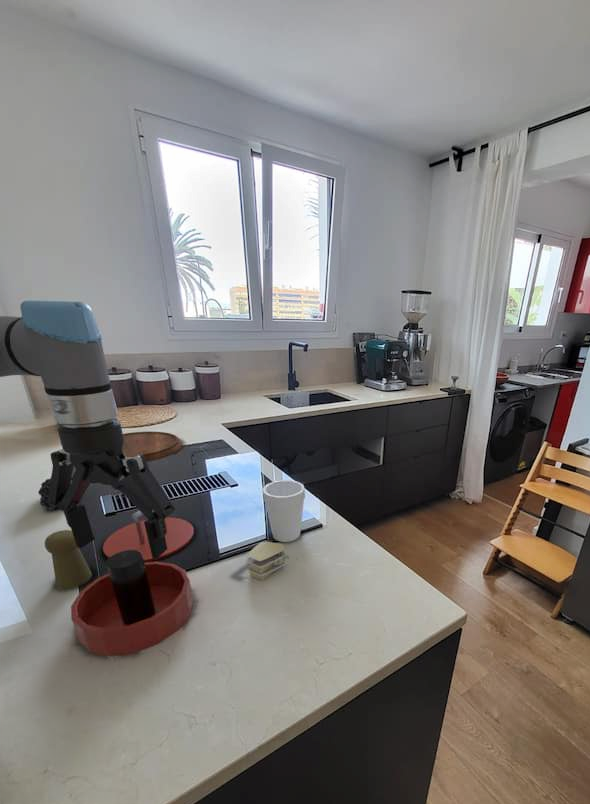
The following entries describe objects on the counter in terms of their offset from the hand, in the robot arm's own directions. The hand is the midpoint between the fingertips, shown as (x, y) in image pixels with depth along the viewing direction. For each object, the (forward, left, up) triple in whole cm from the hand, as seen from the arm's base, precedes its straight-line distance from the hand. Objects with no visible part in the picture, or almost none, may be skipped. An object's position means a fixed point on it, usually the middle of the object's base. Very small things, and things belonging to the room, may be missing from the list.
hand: (122, 548), depth 64 cm
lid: (-14, +22, -14) cm, 30 cm away
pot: (0, 0, -15) cm, 15 cm away
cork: (-19, +6, -15) cm, 25 cm away
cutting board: (-60, +76, -15) cm, 98 cm away
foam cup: (+16, +31, -15) cm, 38 cm away
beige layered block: (+17, +17, -15) cm, 28 cm away
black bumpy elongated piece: (-50, +34, -15) cm, 62 cm away
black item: (0, 0, -14) cm, 14 cm away
